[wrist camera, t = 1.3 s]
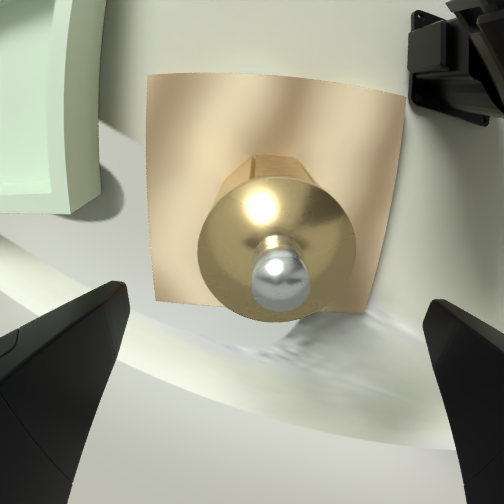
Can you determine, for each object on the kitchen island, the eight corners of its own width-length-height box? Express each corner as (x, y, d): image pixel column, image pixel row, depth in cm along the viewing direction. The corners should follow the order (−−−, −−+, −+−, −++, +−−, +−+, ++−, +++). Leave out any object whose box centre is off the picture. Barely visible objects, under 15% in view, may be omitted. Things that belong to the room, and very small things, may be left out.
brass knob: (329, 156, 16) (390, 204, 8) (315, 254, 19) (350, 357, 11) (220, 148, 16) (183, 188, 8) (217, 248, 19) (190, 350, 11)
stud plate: (395, 97, 16) (442, 97, 11) (359, 300, 22) (381, 352, 17) (156, 77, 16) (117, 68, 11) (161, 289, 22) (137, 339, 17)
